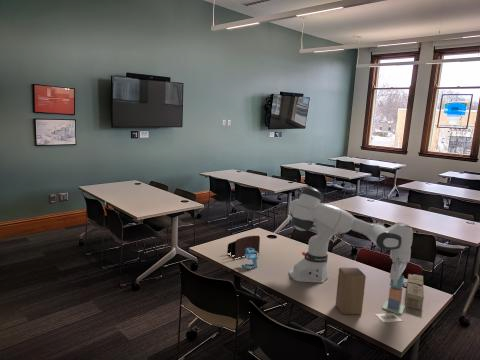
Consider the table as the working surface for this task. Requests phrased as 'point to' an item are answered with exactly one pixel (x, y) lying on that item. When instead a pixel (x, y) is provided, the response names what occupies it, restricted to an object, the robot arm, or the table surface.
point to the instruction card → (388, 317)
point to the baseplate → (394, 306)
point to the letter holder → (243, 245)
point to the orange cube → (395, 293)
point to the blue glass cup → (251, 257)
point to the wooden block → (350, 290)
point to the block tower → (414, 291)
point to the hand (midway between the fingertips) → (396, 282)
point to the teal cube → (400, 282)
